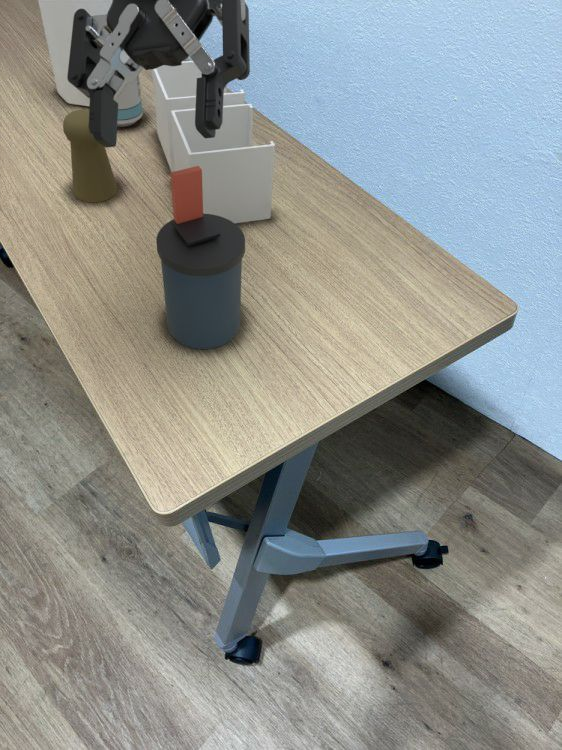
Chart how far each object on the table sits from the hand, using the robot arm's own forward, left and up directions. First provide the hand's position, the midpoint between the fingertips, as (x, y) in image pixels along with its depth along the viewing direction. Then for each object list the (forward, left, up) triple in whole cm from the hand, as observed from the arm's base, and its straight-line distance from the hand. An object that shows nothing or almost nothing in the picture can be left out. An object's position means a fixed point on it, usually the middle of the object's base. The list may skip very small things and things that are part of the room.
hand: (153, 138), depth 47 cm
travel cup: (+2, +7, -27) cm, 28 cm away
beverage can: (-18, +51, -27) cm, 60 cm away
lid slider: (+1, +8, -14) cm, 17 cm away
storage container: (-2, +38, -27) cm, 47 cm away
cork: (-17, +31, -27) cm, 44 cm away
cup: (-25, +59, -27) cm, 70 cm away
